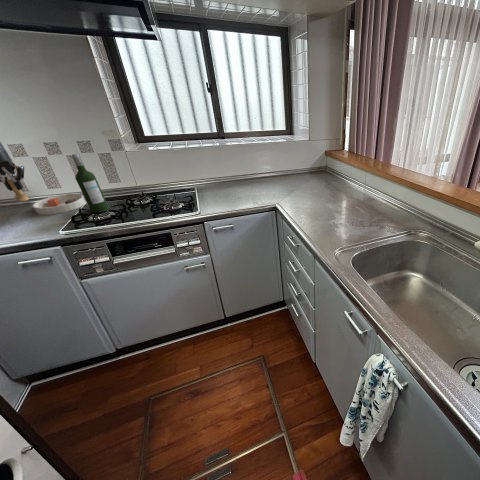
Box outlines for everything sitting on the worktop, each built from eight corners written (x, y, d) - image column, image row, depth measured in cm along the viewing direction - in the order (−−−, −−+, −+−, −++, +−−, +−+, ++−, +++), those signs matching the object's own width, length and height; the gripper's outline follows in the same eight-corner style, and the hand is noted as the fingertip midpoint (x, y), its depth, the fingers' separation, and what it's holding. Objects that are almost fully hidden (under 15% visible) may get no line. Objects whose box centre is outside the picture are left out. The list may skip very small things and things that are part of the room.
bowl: (27, 218, 137) (22, 210, 135) (50, 203, 155) (46, 196, 153) (76, 213, 143) (72, 205, 140) (92, 199, 160) (89, 192, 158)
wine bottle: (103, 206, 150) (78, 152, 134) (112, 208, 147) (88, 153, 132) (88, 212, 143) (60, 155, 128) (98, 214, 141) (71, 156, 126)
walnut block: (67, 207, 147) (64, 201, 145) (71, 205, 150) (68, 199, 148) (75, 207, 148) (72, 201, 146) (78, 204, 151) (75, 199, 149)
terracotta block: (49, 206, 148) (46, 201, 147) (53, 204, 151) (50, 198, 150) (57, 206, 149) (54, 200, 147) (60, 203, 152) (57, 198, 150)
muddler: (15, 202, 121) (1, 180, 116) (20, 199, 124) (7, 178, 119) (25, 201, 122) (12, 179, 117) (31, 198, 125) (18, 177, 120)
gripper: (18, 147, 116) (40, 185, 125) (-22, 149, 113) (3, 189, 122) (7, 150, 110) (30, 190, 119) (-37, 153, 107) (-9, 194, 115)
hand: (16, 189), depth 120 cm, fingers closed on muddler, 2 cm apart
